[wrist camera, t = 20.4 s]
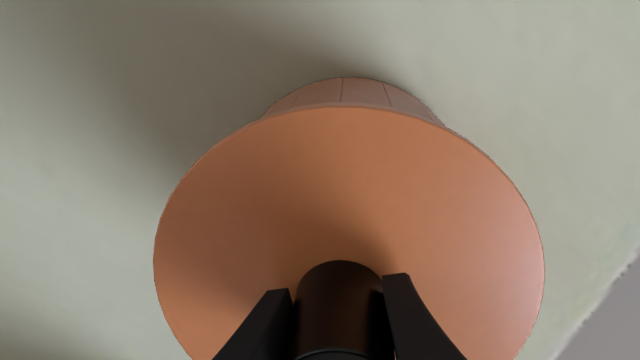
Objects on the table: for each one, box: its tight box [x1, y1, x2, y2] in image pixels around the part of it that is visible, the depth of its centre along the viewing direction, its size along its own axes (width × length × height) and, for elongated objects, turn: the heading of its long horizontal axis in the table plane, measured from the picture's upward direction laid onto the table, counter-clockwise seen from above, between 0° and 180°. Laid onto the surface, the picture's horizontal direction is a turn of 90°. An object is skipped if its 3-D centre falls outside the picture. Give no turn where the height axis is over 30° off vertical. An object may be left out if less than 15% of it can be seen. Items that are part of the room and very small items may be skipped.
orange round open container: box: [261, 77, 445, 126], centre depth 16 cm, size 10×10×6 cm
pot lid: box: [153, 102, 545, 360], centre depth 11 cm, size 11×11×4 cm
